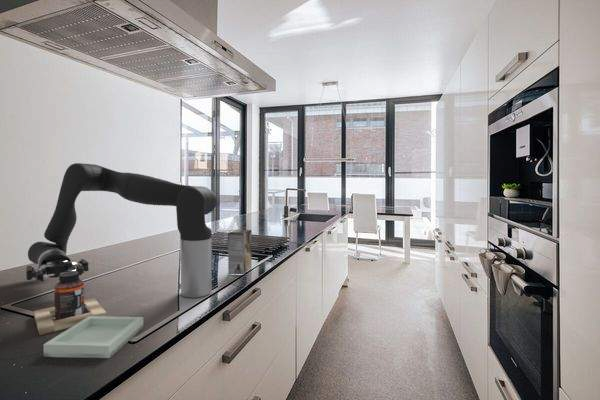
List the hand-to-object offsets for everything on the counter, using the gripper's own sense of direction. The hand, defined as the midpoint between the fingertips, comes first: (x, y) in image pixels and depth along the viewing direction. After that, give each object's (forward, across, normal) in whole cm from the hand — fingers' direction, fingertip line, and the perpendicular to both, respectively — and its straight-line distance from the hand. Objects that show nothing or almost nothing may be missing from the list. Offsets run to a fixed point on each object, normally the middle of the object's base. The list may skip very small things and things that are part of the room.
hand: (61, 274), depth 86 cm
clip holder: (+12, 0, +8) cm, 14 cm away
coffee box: (+6, +54, +8) cm, 55 cm away
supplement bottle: (+12, 0, +9) cm, 14 cm away
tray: (+30, +3, +8) cm, 31 cm away
